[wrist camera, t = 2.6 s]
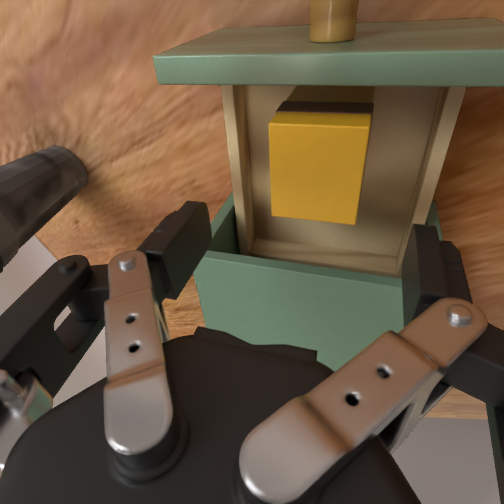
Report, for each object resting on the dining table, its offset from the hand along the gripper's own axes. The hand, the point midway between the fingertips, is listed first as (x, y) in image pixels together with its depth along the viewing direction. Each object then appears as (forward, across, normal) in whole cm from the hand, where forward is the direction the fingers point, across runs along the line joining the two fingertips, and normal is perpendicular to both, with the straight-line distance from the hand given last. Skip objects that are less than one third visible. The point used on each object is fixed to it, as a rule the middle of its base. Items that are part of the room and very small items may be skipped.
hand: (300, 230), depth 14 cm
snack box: (+11, 0, 0) cm, 11 cm away
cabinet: (+13, 0, +13) cm, 19 cm away
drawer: (+12, 0, +1) cm, 13 cm away
